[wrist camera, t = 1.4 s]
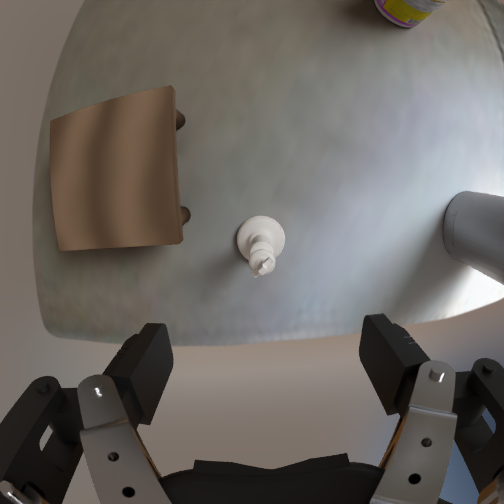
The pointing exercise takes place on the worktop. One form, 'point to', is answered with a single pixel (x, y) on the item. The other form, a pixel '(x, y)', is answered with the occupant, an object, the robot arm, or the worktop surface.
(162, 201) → the small wooden table
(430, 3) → the supplement bottle
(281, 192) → the worktop surface
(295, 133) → the worktop surface
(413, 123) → the worktop surface
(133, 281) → the worktop surface
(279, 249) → the chess piece
